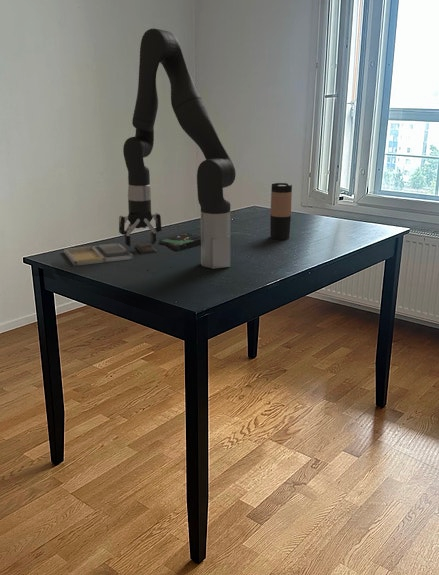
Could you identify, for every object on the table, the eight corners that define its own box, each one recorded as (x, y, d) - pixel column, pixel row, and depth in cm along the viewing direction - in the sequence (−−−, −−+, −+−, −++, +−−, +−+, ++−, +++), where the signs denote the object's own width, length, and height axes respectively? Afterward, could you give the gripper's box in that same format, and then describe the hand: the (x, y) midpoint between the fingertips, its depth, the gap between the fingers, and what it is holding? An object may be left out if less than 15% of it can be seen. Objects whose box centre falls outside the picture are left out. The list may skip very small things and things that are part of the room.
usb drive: (141, 258, 194) (141, 250, 193) (134, 249, 205) (133, 241, 204) (156, 256, 196) (156, 248, 195) (148, 248, 207) (148, 240, 206)
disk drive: (186, 240, 219) (158, 247, 208) (186, 232, 218) (158, 239, 207) (207, 244, 212) (179, 252, 202) (207, 237, 212) (179, 244, 201)
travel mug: (268, 239, 217) (269, 185, 211) (271, 234, 225) (273, 182, 218) (288, 240, 216) (290, 186, 209) (291, 235, 223) (293, 183, 216)
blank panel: (125, 257, 189) (125, 251, 189) (107, 259, 187) (106, 253, 186) (115, 248, 200) (115, 243, 199) (98, 250, 197) (97, 245, 197)
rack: (133, 261, 188) (133, 254, 188) (74, 268, 181) (73, 261, 180) (119, 249, 203) (119, 242, 202) (64, 255, 195) (63, 248, 195)
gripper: (121, 201, 188) (123, 249, 193) (163, 198, 194) (164, 245, 199) (115, 197, 194) (117, 244, 200) (156, 194, 200) (157, 240, 205)
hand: (140, 244), depth 199 cm, fingers open, 8 cm apart
